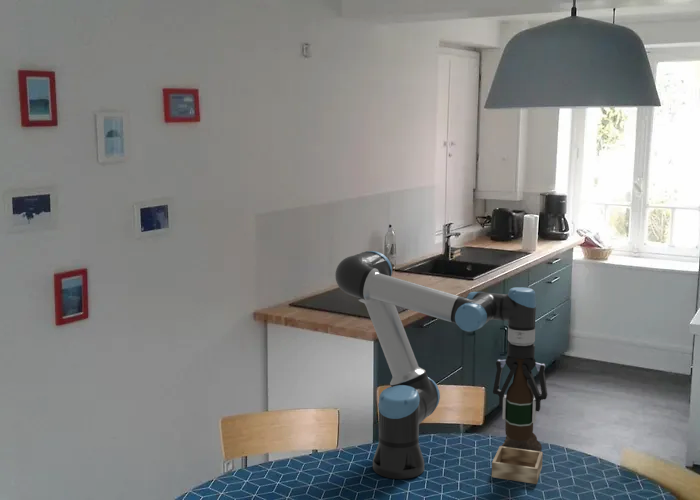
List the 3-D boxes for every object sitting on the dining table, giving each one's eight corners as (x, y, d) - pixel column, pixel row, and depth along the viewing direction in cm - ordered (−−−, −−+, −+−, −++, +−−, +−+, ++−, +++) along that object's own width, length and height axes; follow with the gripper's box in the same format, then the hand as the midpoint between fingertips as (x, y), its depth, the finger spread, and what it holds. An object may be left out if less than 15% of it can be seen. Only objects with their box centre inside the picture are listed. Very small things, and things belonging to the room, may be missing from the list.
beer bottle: (533, 442, 211) (535, 360, 207) (505, 440, 212) (507, 358, 209) (532, 432, 218) (534, 352, 215) (505, 430, 220) (506, 351, 216)
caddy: (491, 477, 213) (492, 462, 212) (499, 459, 224) (499, 445, 224) (536, 484, 208) (537, 469, 208) (542, 466, 220) (542, 451, 219)
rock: (547, 460, 226) (535, 447, 236) (551, 433, 225) (538, 421, 235) (502, 459, 224) (491, 446, 234) (505, 432, 223) (494, 420, 233)
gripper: (482, 342, 211) (481, 419, 214) (557, 349, 204) (554, 428, 207) (487, 336, 218) (486, 411, 221) (560, 342, 211) (557, 419, 214)
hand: (519, 419), depth 214 cm, fingers closed on beer bottle, 8 cm apart
